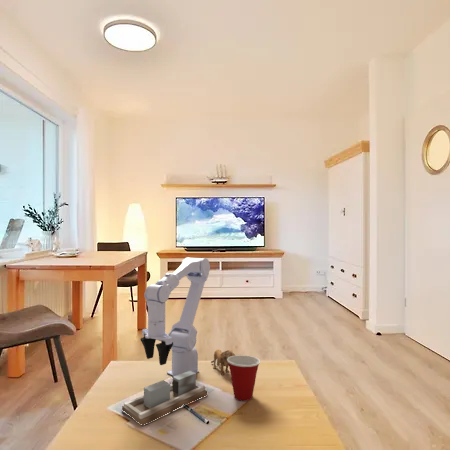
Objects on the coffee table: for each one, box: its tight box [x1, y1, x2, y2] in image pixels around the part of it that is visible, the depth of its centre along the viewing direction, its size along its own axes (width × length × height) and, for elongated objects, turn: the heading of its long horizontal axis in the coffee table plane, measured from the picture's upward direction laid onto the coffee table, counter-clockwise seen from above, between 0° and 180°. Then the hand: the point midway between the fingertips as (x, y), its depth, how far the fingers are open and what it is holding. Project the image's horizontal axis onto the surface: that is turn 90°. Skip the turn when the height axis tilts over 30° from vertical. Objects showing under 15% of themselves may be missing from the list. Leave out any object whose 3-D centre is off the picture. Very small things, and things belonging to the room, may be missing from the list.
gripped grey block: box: [143, 379, 171, 408], centre depth 102 cm, size 4×7×5 cm, turn 136°
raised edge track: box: [121, 371, 208, 425], centre depth 104 cm, size 24×11×6 cm, turn 136°
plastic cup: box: [227, 354, 261, 402], centre depth 109 cm, size 11×11×12 cm
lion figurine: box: [210, 349, 236, 376], centre depth 129 cm, size 15×5×9 cm, turn 36°
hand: (156, 361), depth 113 cm, fingers open, 7 cm apart
